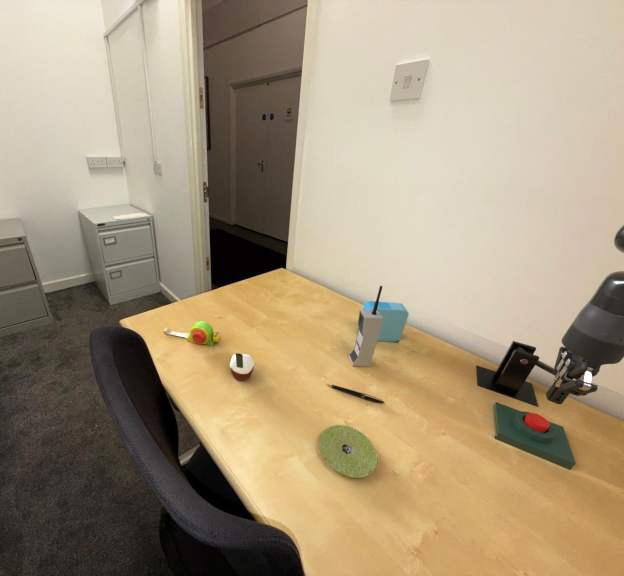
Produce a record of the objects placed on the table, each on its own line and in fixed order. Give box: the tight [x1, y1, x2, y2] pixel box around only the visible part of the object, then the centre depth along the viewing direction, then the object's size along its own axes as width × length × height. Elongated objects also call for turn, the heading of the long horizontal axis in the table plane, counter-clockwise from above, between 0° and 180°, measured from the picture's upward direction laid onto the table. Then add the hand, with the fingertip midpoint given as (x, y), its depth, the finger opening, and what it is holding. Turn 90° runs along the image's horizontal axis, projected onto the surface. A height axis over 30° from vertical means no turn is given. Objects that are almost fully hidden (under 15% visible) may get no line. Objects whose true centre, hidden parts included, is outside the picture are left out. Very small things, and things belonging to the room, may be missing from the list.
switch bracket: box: [475, 340, 540, 408], centre depth 75 cm, size 12×9×13 cm
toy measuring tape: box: [162, 320, 221, 346], centre depth 93 cm, size 6×19×7 cm, turn 71°
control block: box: [492, 401, 576, 471], centre depth 65 cm, size 12×10×4 cm
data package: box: [357, 300, 410, 343], centre depth 94 cm, size 12×4×12 cm, turn 84°
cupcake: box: [229, 352, 255, 381], centre depth 77 cm, size 10×6×12 cm, turn 147°
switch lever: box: [512, 346, 588, 397], centre depth 71 cm, size 14×6×2 cm, turn 57°
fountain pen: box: [326, 383, 386, 404], centre depth 75 cm, size 14×1×2 cm, turn 66°
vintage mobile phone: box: [348, 285, 384, 368], centre depth 80 cm, size 4×5×25 cm
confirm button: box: [524, 412, 550, 433], centre depth 64 cm, size 4×4×2 cm
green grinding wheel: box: [318, 424, 378, 479], centre depth 61 cm, size 11×11×2 cm
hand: (552, 399), depth 60 cm, fingers closed
